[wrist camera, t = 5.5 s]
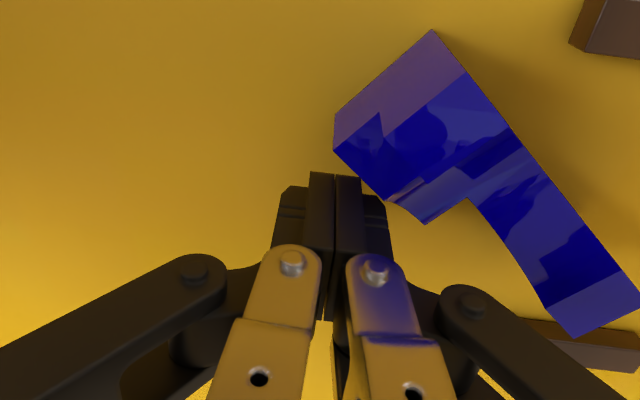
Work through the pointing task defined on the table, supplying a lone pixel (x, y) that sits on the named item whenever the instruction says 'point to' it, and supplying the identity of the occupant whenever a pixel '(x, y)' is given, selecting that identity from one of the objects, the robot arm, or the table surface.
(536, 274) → the cable holder
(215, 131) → the table surface
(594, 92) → the table surface
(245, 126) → the table surface
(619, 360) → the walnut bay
